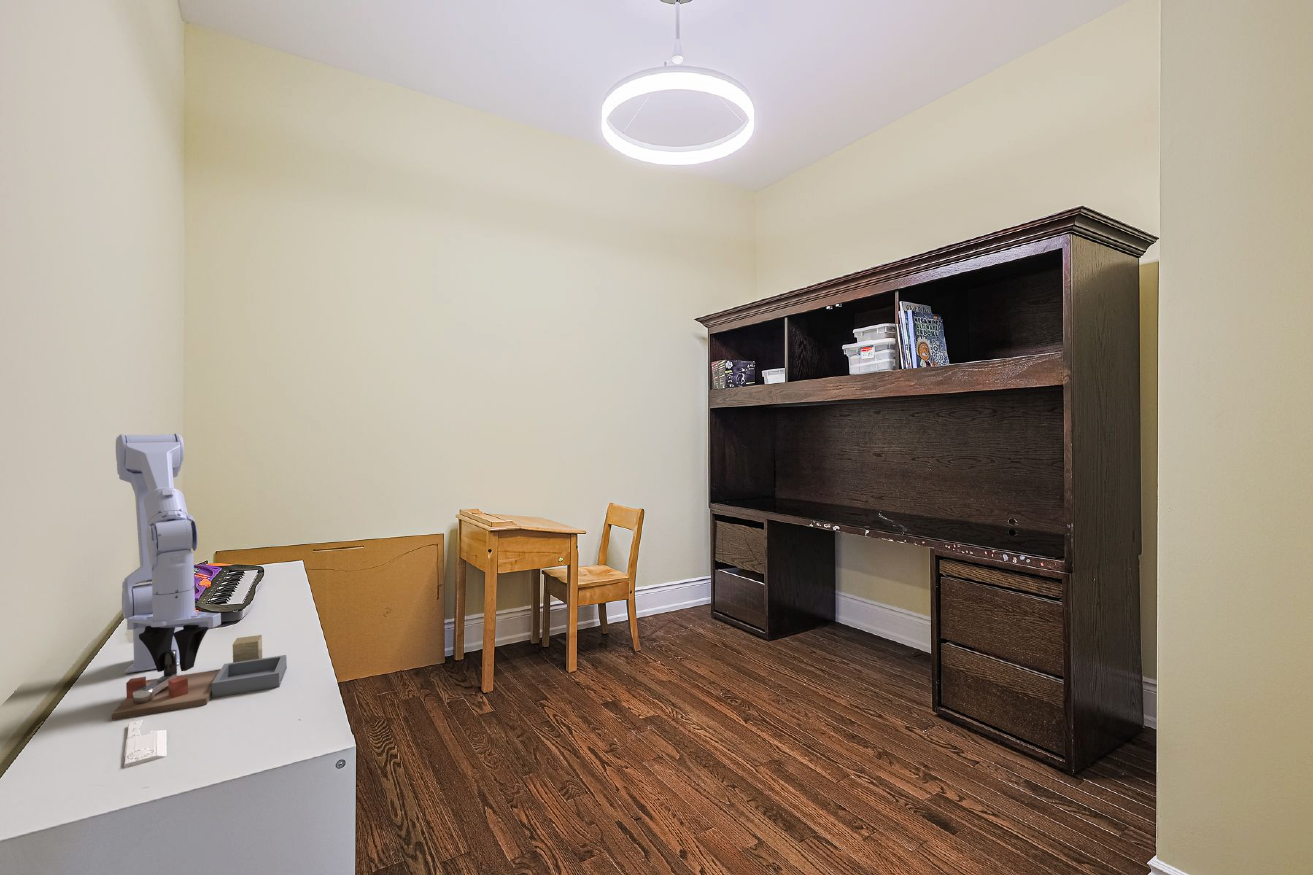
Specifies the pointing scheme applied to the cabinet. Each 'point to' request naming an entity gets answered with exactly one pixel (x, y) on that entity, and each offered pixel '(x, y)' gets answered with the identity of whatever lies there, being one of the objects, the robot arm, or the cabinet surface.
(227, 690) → the tray
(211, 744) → the cabinet surface
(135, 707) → the crank base
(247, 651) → the stop block
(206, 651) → the cabinet surface
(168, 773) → the cabinet surface
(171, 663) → the crank
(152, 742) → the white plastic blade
